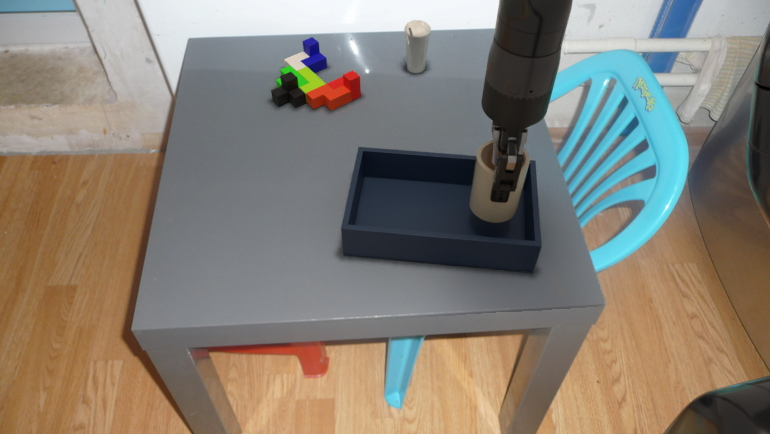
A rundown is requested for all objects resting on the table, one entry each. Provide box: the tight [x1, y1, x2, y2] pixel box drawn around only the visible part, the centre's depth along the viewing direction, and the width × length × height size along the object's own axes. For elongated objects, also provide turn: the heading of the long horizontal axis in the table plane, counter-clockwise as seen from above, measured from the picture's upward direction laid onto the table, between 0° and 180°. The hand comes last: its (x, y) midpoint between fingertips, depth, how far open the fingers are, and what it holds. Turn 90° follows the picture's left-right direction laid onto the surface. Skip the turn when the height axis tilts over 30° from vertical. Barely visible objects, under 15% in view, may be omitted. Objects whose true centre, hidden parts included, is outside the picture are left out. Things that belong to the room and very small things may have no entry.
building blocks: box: [270, 36, 362, 111], centre depth 102 cm, size 15×13×4 cm
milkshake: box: [403, 19, 432, 74], centre depth 104 cm, size 5×5×10 cm
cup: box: [469, 139, 531, 223], centre depth 77 cm, size 7×7×9 cm
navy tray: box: [340, 146, 543, 274], centre depth 82 cm, size 26×16×6 cm, turn 83°
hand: (498, 179), depth 77 cm, fingers closed on cup, 6 cm apart
